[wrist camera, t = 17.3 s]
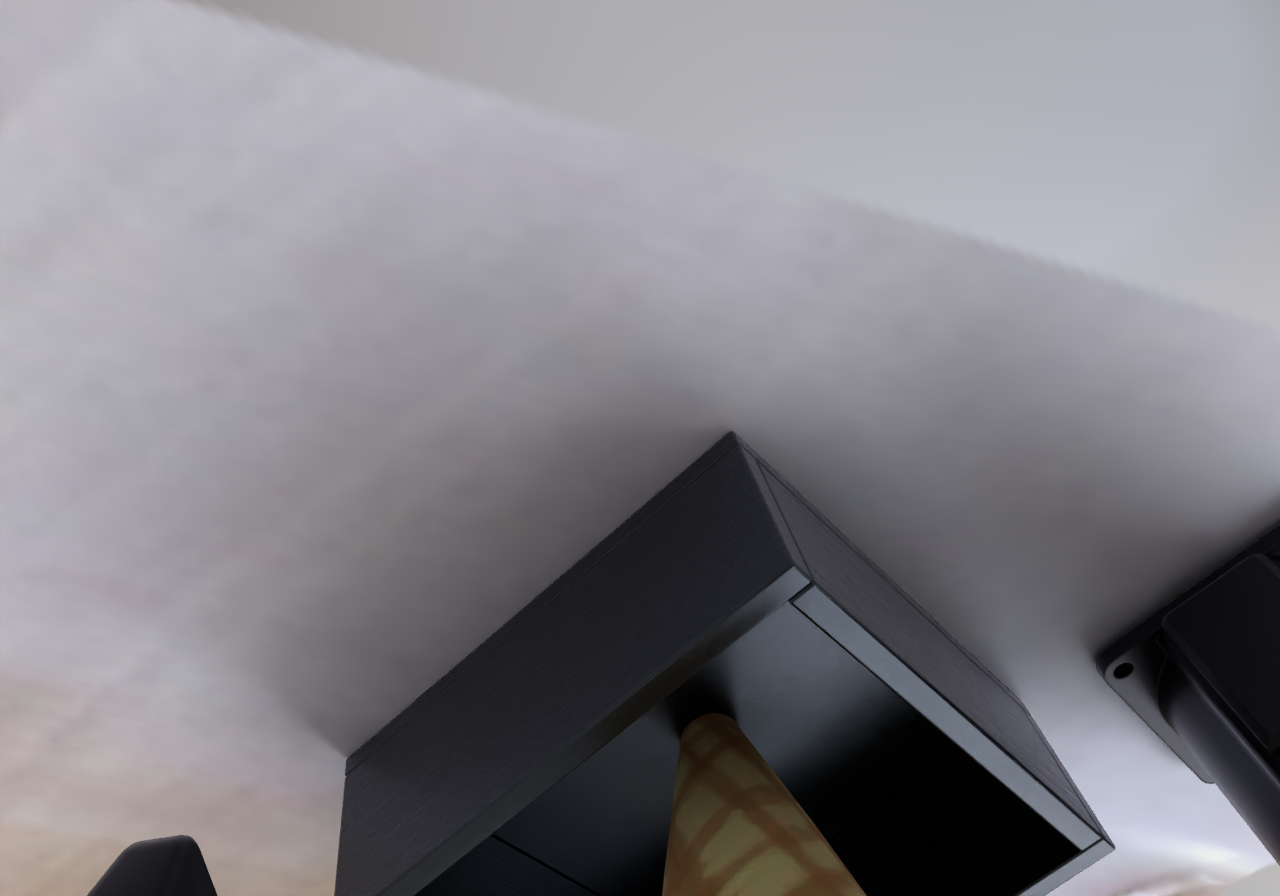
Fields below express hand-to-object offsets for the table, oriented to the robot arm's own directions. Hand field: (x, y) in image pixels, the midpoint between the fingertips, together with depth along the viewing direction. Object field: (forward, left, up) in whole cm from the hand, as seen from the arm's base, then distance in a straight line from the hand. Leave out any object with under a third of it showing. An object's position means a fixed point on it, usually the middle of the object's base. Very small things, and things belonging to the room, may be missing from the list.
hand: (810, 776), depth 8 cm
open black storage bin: (-11, +7, -13) cm, 18 cm away
